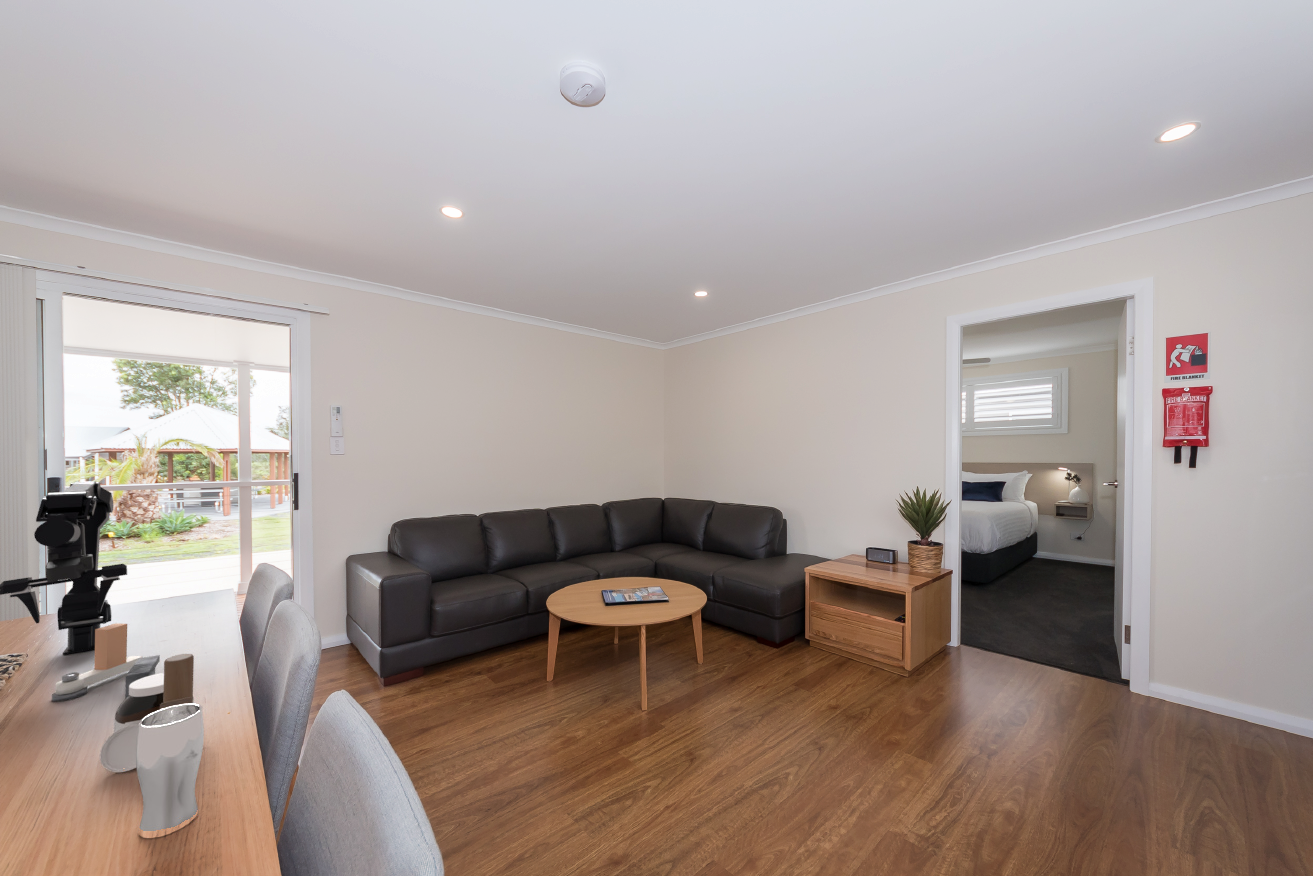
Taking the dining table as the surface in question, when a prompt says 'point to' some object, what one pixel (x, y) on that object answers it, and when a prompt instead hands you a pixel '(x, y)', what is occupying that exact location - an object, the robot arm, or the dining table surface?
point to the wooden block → (178, 680)
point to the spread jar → (131, 722)
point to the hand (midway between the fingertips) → (69, 617)
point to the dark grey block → (141, 670)
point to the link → (103, 659)
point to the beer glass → (169, 764)
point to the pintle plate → (69, 696)
